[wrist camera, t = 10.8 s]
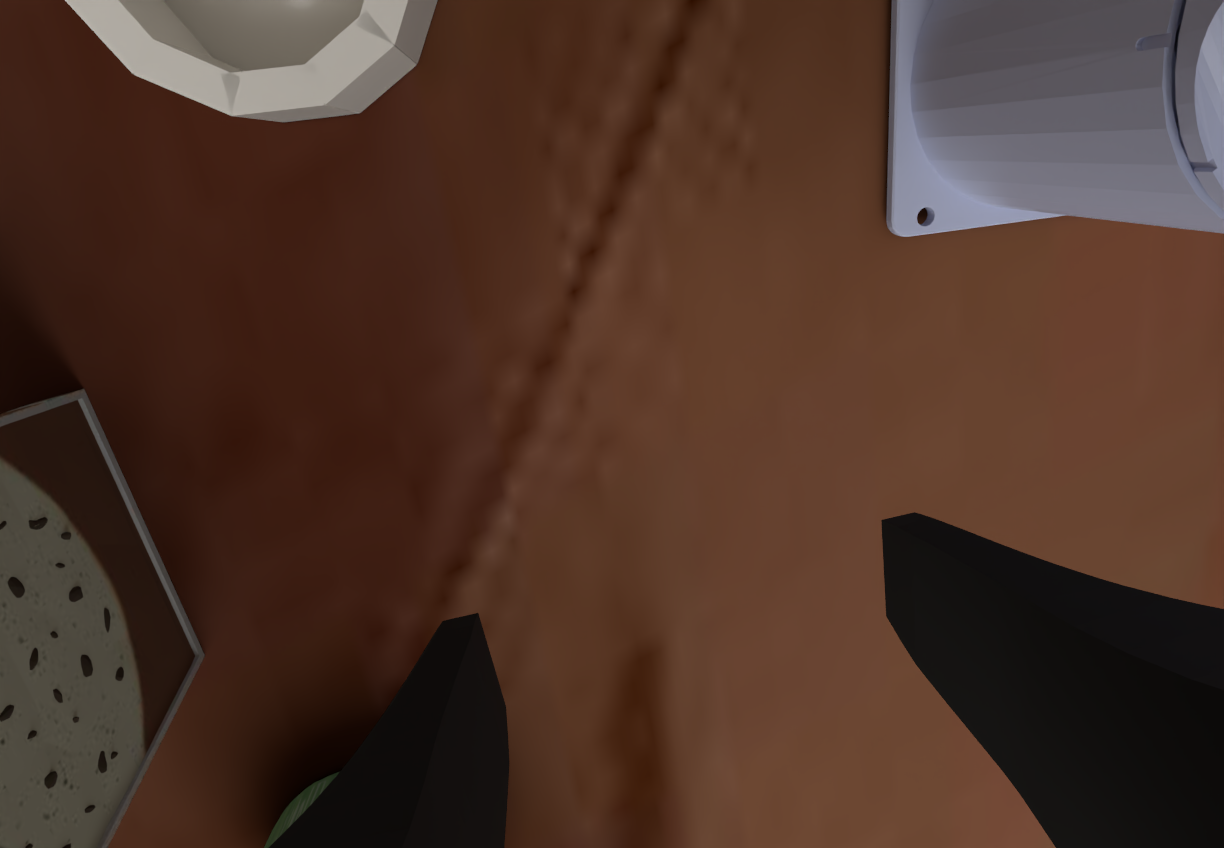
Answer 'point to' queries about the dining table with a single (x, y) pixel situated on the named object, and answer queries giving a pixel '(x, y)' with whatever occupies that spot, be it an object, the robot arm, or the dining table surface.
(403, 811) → the robot arm
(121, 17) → the cup
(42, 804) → the food container
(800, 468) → the dining table surface
